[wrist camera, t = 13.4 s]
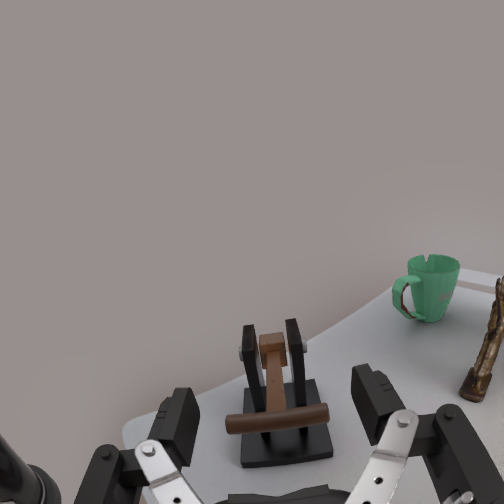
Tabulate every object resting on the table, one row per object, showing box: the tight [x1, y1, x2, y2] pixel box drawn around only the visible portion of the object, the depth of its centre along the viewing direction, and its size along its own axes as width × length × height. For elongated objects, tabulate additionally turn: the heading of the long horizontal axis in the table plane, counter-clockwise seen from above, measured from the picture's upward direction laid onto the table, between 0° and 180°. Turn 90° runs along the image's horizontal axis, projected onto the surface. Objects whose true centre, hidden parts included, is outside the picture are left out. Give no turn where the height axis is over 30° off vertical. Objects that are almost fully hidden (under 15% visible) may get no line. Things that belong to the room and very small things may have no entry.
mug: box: [392, 254, 460, 322], centre depth 39 cm, size 15×10×10 cm
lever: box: [225, 332, 330, 435], centre depth 18 cm, size 13×6×2 cm, turn 179°
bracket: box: [239, 318, 333, 468], centre depth 25 cm, size 12×9×13 cm
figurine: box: [459, 276, 504, 402], centre depth 19 cm, size 7×4×15 cm, turn 123°
